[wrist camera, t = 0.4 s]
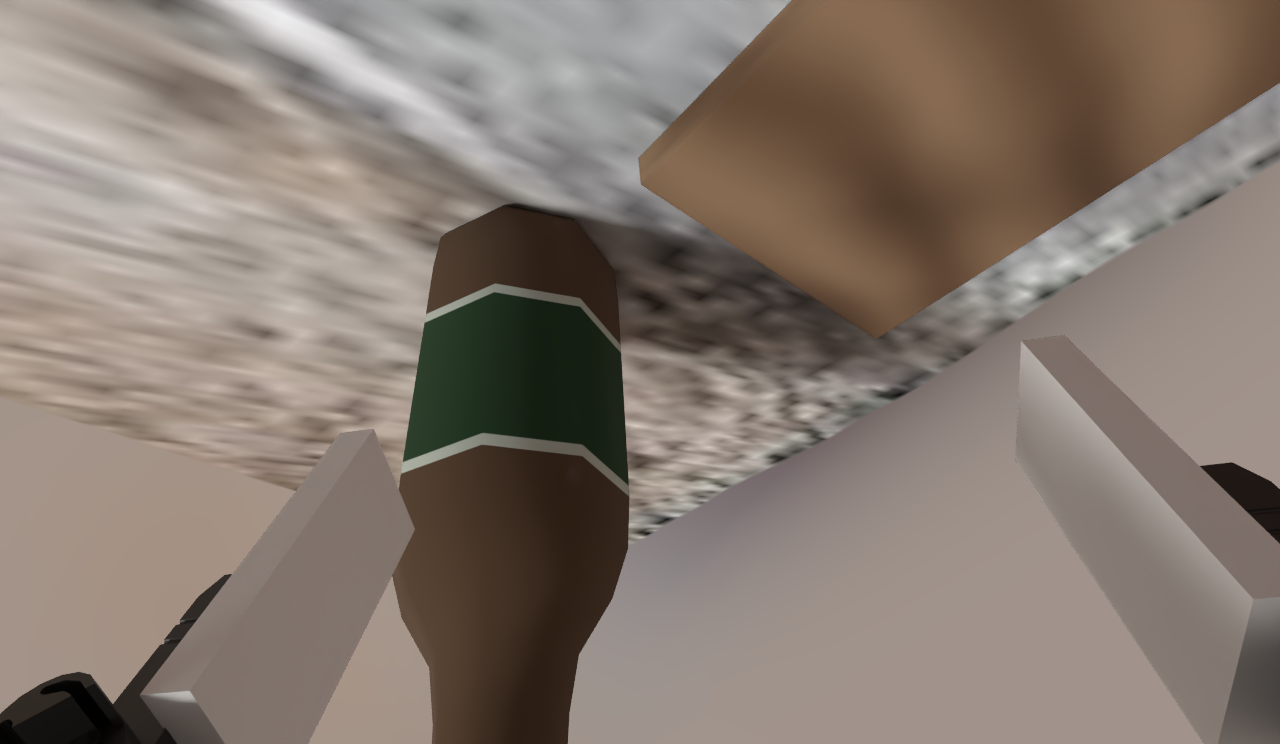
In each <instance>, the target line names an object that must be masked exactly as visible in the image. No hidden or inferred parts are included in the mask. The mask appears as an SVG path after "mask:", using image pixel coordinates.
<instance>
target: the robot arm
mask: <svg viewBox="0 0 1280 744" xmlns="http://www.w3.org/2000/svg"><path fill="white" fill-rule="evenodd" d="M1015 460H1016V462H1017V464H1018V465H1019V467H1020V468H1021V470H1022V471H1023V473H1024V474H1025V476H1026V477H1027V479H1028V480H1029V482H1030V483H1031V485H1032V486H1033V488H1034V489H1035V491H1036V492H1037V494H1038V495H1039V497H1040V498H1041V500H1042V501H1043V503H1044V504H1045V506H1046V507H1047V509H1048V510H1049V512H1050V513H1051V515H1052V516H1053V518H1054V519H1055V521H1056V522H1057V524H1058V525H1059V527H1060V528H1061V530H1062V532H1063V533H1064V535H1065V536H1066V538H1067V539H1068V540H1069V542H1070V543H1071V545H1072V547H1073V548H1074V549H1075V551H1076V552H1077V554H1078V555H1079V557H1080V559H1081V560H1082V562H1083V563H1084V565H1085V566H1086V567H1087V569H1088V570H1089V572H1090V573H1091V575H1092V577H1093V578H1094V580H1095V581H1096V583H1097V584H1098V586H1099V587H1100V589H1101V590H1102V592H1103V593H1104V595H1105V596H1106V597H1107V599H1108V601H1109V602H1110V603H1111V605H1112V607H1113V608H1114V610H1115V611H1116V613H1117V614H1118V616H1119V617H1120V619H1121V620H1122V621H1123V623H1124V625H1125V626H1126V628H1127V629H1128V630H1129V632H1130V634H1131V635H1132V637H1133V638H1134V640H1135V641H1136V643H1137V644H1138V645H1139V647H1140V649H1141V650H1142V652H1143V653H1144V655H1145V656H1146V658H1147V659H1148V661H1149V662H1150V664H1151V665H1152V667H1153V668H1154V670H1155V671H1156V673H1157V674H1158V676H1159V677H1160V679H1161V680H1162V682H1163V683H1164V685H1165V686H1166V688H1167V689H1168V691H1169V692H1170V694H1171V695H1172V697H1173V698H1174V700H1175V701H1176V703H1177V704H1178V706H1179V707H1180V709H1181V710H1182V712H1183V713H1184V715H1185V716H1186V718H1187V719H1188V721H1189V722H1190V724H1191V725H1192V727H1193V728H1194V730H1195V731H1196V733H1197V734H1198V736H1199V737H1200V739H1201V740H1202V742H1203V743H1204V744H1280V489H1279V488H1277V486H1275V485H1274V484H1273V483H1272V482H1271V481H1269V480H1267V479H1265V478H1263V477H1261V476H1259V475H1257V474H1255V473H1253V472H1251V471H1249V470H1247V469H1244V468H1242V467H1240V466H1238V465H1236V464H1234V463H1224V464H1214V465H1206V466H1199V465H1198V464H1197V463H1196V462H1195V461H1194V460H1193V459H1192V458H1191V457H1190V456H1189V455H1188V454H1187V453H1185V452H1184V451H1183V450H1182V449H1181V448H1180V447H1179V446H1178V445H1177V444H1176V443H1175V442H1174V441H1173V440H1172V439H1171V438H1170V437H1169V436H1168V435H1167V434H1166V433H1165V432H1164V431H1163V430H1162V429H1160V427H1159V426H1157V424H1156V423H1154V422H1153V421H1152V420H1151V419H1150V418H1149V417H1148V416H1147V415H1146V414H1145V413H1144V412H1143V411H1142V410H1141V409H1140V408H1139V407H1138V406H1137V405H1136V404H1135V403H1134V402H1133V401H1132V400H1131V399H1130V398H1129V397H1128V396H1127V395H1126V394H1124V393H1123V392H1122V391H1121V390H1120V389H1119V388H1118V387H1117V386H1116V385H1115V384H1114V383H1113V382H1112V381H1111V380H1110V379H1109V378H1108V377H1107V376H1106V375H1105V374H1104V373H1103V372H1102V371H1101V370H1100V369H1099V368H1097V366H1095V364H1094V363H1093V362H1091V361H1090V360H1089V359H1088V358H1087V357H1086V356H1085V355H1084V354H1083V353H1082V352H1081V351H1080V350H1079V349H1078V348H1077V347H1076V346H1075V345H1074V344H1073V343H1072V342H1071V341H1070V340H1069V339H1068V338H1066V337H1065V336H1064V335H1061V336H1053V337H1047V338H1039V339H1031V340H1024V341H1021V353H1020V374H1019V396H1018V416H1017V439H1016V458H1015ZM414 531H415V528H414V525H413V523H412V521H411V518H410V516H409V513H408V511H407V508H406V506H405V504H404V501H403V499H402V496H401V494H400V491H399V489H398V487H397V484H396V482H395V479H394V477H393V475H392V472H391V470H390V467H389V465H388V462H387V460H386V458H385V455H384V453H383V450H382V448H381V445H380V443H379V441H378V438H377V436H376V433H375V431H374V429H367V430H360V431H353V432H345V433H340V434H339V436H338V437H337V438H336V440H335V441H334V442H333V443H332V445H331V446H330V447H329V449H328V450H327V451H326V453H325V454H324V455H323V456H322V458H321V459H320V460H319V462H318V463H317V464H316V466H315V467H314V468H313V470H312V471H311V472H310V473H309V475H308V476H307V477H306V479H305V480H304V481H303V483H302V484H301V485H300V486H299V488H298V489H297V490H296V492H295V493H294V494H293V496H292V497H291V498H290V499H289V501H288V502H287V503H286V505H285V506H284V507H283V509H282V510H281V511H280V513H279V514H278V515H277V516H276V518H275V519H274V520H273V522H272V523H271V524H270V526H269V527H268V528H267V529H266V531H265V532H264V533H263V535H262V536H261V537H260V539H259V540H258V542H257V543H256V544H255V545H254V546H253V548H252V549H251V551H250V552H249V553H248V554H247V556H246V557H245V558H244V559H243V561H242V562H241V563H240V565H239V566H238V567H237V569H236V570H235V571H234V573H233V574H229V575H224V576H223V577H222V578H221V579H219V580H218V581H217V582H216V583H214V584H213V585H212V586H211V587H210V588H208V589H207V590H206V591H205V592H204V593H202V594H201V595H200V596H199V597H198V598H197V599H196V600H195V602H194V603H193V604H192V605H191V607H190V608H189V609H188V610H187V612H186V613H185V614H184V615H183V617H182V618H181V619H180V624H179V625H176V626H175V627H174V628H173V629H172V631H171V632H170V633H169V634H168V636H167V637H166V638H165V639H164V640H165V643H164V644H162V645H160V646H159V647H158V648H157V649H156V651H155V652H154V653H153V654H152V656H151V657H150V658H149V660H148V661H147V662H146V663H145V665H144V666H143V667H142V668H141V670H140V671H139V672H138V673H137V675H136V676H135V677H134V678H133V680H132V681H131V682H130V683H129V685H128V686H127V687H126V689H125V690H124V691H123V693H122V694H121V695H120V696H119V697H118V699H117V700H116V701H115V702H114V704H112V703H111V702H110V700H109V699H108V698H107V696H106V695H105V693H104V692H103V691H102V690H101V688H100V687H99V685H98V684H97V683H96V681H95V680H94V679H93V678H92V676H91V675H90V674H85V673H81V672H76V673H71V674H66V675H61V676H59V677H56V678H54V679H52V680H49V681H47V682H44V683H42V684H40V685H38V686H37V687H35V688H34V689H32V690H30V691H29V692H27V693H25V694H24V695H22V696H21V697H19V698H18V699H17V700H16V701H15V702H13V703H12V704H11V705H10V706H9V707H8V708H6V709H5V710H4V711H3V712H2V713H1V714H0V744H308V743H309V741H310V739H311V737H312V735H313V733H314V731H315V729H316V727H317V725H318V723H319V721H320V719H321V717H322V715H323V713H324V711H325V709H326V707H327V705H328V703H329V701H330V699H331V697H332V695H333V693H334V691H335V689H336V687H337V685H338V683H339V681H340V679H341V677H342V675H343V673H344V671H345V669H346V667H347V665H348V663H349V661H350V659H351V657H352V655H353V653H354V651H355V649H356V647H357V645H358V643H359V641H360V639H361V637H362V635H363V632H364V631H365V629H366V627H367V625H368V623H369V621H370V619H371V617H372V615H373V613H374V611H375V609H376V607H377V605H378V603H379V600H380V599H381V597H382V595H383V593H384V590H385V588H386V587H387V585H388V583H389V581H390V579H391V577H392V575H393V573H394V571H395V569H396V567H397V565H398V563H399V561H400V559H401V557H402V555H403V553H404V551H405V549H406V547H407V545H408V543H409V541H410V539H411V537H412V535H413V533H414Z"/></svg>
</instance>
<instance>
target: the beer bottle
mask: <svg viewBox="0 0 1280 744" xmlns="http://www.w3.org/2000/svg"><path fill="white" fill-rule="evenodd" d="M399 491H400V494H401V496H402V499H403V501H404V504H405V506H406V508H407V511H408V513H409V516H410V518H411V521H412V523H413V525H414V528H415V531H414V533H413V535H412V537H411V539H410V541H409V543H408V545H407V547H406V549H405V551H404V553H403V555H402V557H401V559H400V561H399V563H398V565H397V567H396V569H395V571H394V573H393V575H392V576H393V581H394V585H395V590H396V594H397V599H398V603H399V608H400V612H401V617H402V619H403V621H404V623H405V625H406V626H407V628H408V630H409V632H410V633H411V636H412V637H413V639H414V641H415V643H416V645H417V647H418V648H419V650H420V652H421V654H422V656H423V657H424V659H425V661H426V663H427V665H428V666H429V670H430V686H431V702H432V717H433V734H432V744H568V727H569V711H570V706H571V699H572V693H573V687H574V681H575V675H576V669H577V662H578V656H579V653H580V651H581V650H582V648H583V646H584V645H585V643H586V642H587V640H588V638H589V637H590V635H591V633H592V632H593V630H594V628H595V627H596V625H597V623H598V621H599V620H600V618H601V616H602V615H603V613H604V611H605V610H606V608H607V607H608V605H609V603H610V602H611V600H612V598H613V594H614V591H615V588H616V585H617V582H618V578H619V575H620V572H621V569H622V566H623V562H624V559H625V556H626V553H627V550H628V525H629V483H628V465H627V448H626V431H625V414H624V396H623V379H622V362H621V344H620V327H619V310H618V297H617V290H616V283H615V276H614V270H613V268H612V267H611V266H610V265H609V263H608V262H607V261H606V259H605V258H604V257H603V256H602V254H601V253H600V252H599V250H598V249H597V248H596V247H595V245H594V244H593V243H592V241H591V240H590V239H589V238H588V236H587V235H586V234H585V232H584V231H583V230H582V229H581V227H580V226H579V225H578V223H577V222H576V221H575V220H574V219H570V218H565V217H560V216H555V215H550V214H545V213H540V212H535V211H530V210H525V209H520V208H515V207H510V206H505V205H503V206H501V207H499V208H497V209H495V210H493V211H491V212H489V213H487V214H485V215H483V216H481V217H479V218H477V219H475V220H472V221H470V222H468V223H466V224H464V225H462V226H460V227H458V228H456V229H454V230H452V231H450V232H448V233H446V234H445V235H443V236H442V237H441V239H440V243H439V247H438V251H437V255H436V259H435V263H434V267H433V273H432V280H431V286H430V292H429V299H428V305H427V311H426V318H425V324H424V330H423V337H422V343H421V349H420V356H419V362H418V369H417V375H416V381H415V388H414V394H413V400H412V407H411V413H410V419H409V426H408V432H407V439H406V445H405V451H404V458H403V464H402V470H401V477H400V485H399Z"/></svg>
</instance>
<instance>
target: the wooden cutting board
mask: <svg viewBox="0 0 1280 744" xmlns="http://www.w3.org/2000/svg"><path fill="white" fill-rule="evenodd" d="M1278 83H1280V0H792V1H791V2H790V3H789V4H788V5H787V6H786V7H785V8H784V9H783V10H782V11H781V12H780V13H779V14H778V15H777V16H776V17H775V18H774V19H773V21H772V22H771V23H770V24H769V25H768V26H767V27H766V28H765V29H764V30H763V31H762V32H761V33H760V34H759V35H758V36H757V37H756V38H755V39H754V40H753V41H752V42H751V43H750V44H749V45H748V46H747V47H746V48H745V49H744V50H743V51H742V52H741V53H740V55H739V56H738V57H737V58H736V59H735V60H734V61H733V62H732V63H731V64H730V65H729V66H728V67H727V68H726V69H725V70H724V71H723V72H722V73H721V74H720V75H719V76H718V77H717V78H716V79H715V80H714V81H713V82H712V83H711V84H710V85H709V86H708V87H707V88H706V90H705V91H704V92H703V93H702V94H701V95H700V96H699V97H698V98H697V99H696V100H695V101H694V102H693V103H692V104H691V105H690V106H689V107H688V108H687V109H686V110H685V111H684V112H683V113H682V114H681V115H680V116H679V117H678V118H677V119H676V120H675V121H674V122H673V123H672V125H671V126H670V127H669V128H668V129H667V130H666V131H665V132H664V133H663V134H662V135H661V136H660V137H659V138H658V139H657V140H656V141H655V142H654V143H653V144H652V145H651V146H650V147H649V148H648V149H647V150H646V151H645V152H644V153H643V154H642V155H641V156H640V157H639V158H638V159H639V169H640V179H641V185H642V186H644V187H646V188H647V189H649V190H650V191H652V192H653V193H655V194H656V195H658V196H659V197H661V198H662V199H664V200H665V201H667V202H668V203H670V204H671V205H673V206H674V207H676V208H677V209H679V210H681V211H682V212H684V213H685V214H687V215H688V216H690V217H691V218H693V219H694V220H696V221H697V222H699V223H700V224H702V225H703V226H705V227H706V228H708V229H709V230H711V231H713V232H714V233H716V234H717V235H719V236H720V237H722V238H723V239H725V240H726V241H728V242H729V243H731V244H732V245H734V246H735V247H737V248H738V249H740V250H741V251H743V252H744V253H746V254H748V255H749V256H751V257H752V258H754V259H755V260H757V261H758V262H760V263H761V264H763V265H764V266H766V267H767V268H769V269H770V270H772V271H773V272H775V273H776V274H778V275H779V276H781V277H783V278H784V279H786V280H787V281H789V282H790V283H792V284H793V285H795V286H796V287H798V288H799V289H801V290H802V291H804V292H805V293H807V294H808V295H810V296H811V297H813V298H814V299H816V300H818V301H819V302H821V303H822V304H824V305H825V306H827V307H828V308H830V309H831V310H833V311H834V312H836V313H837V314H839V315H840V316H842V317H843V318H845V319H846V320H848V321H849V322H851V323H853V324H854V325H856V326H857V327H859V328H860V329H862V330H863V331H865V332H866V333H868V334H869V335H871V336H872V337H874V338H875V339H877V338H879V337H880V336H882V335H884V334H885V333H887V332H888V331H890V330H891V329H893V328H895V327H896V326H898V325H899V324H901V323H902V322H904V321H906V320H907V319H909V318H910V317H912V316H913V315H915V314H917V313H918V312H920V311H921V310H923V309H924V308H926V307H928V306H929V305H931V304H932V303H934V302H935V301H937V300H939V299H940V298H942V297H943V296H945V295H947V294H948V293H950V292H951V291H953V290H954V289H956V288H958V287H959V286H961V285H962V284H964V283H965V282H967V281H969V280H970V279H972V278H973V277H975V276H976V275H978V274H980V273H981V272H983V271H984V270H986V269H987V268H989V267H991V266H992V265H994V264H995V263H997V262H998V261H1000V260H1002V259H1003V258H1005V257H1006V256H1008V255H1009V254H1011V253H1013V252H1014V251H1016V250H1017V249H1019V248H1020V247H1022V246H1024V245H1025V244H1027V243H1028V242H1030V241H1031V240H1033V239H1035V238H1036V237H1038V236H1039V235H1041V234H1042V233H1044V232H1046V231H1047V230H1049V229H1050V228H1052V227H1053V226H1055V225H1057V224H1058V223H1060V222H1061V221H1063V220H1064V219H1066V218H1068V217H1069V216H1071V215H1072V214H1074V213H1075V212H1077V211H1079V210H1080V209H1082V208H1083V207H1085V206H1086V205H1088V204H1090V203H1091V202H1093V201H1094V200H1096V199H1097V198H1099V197H1101V196H1102V195H1104V194H1105V193H1107V192H1108V191H1110V190H1112V189H1113V188H1115V187H1116V186H1118V185H1119V184H1121V183H1123V182H1124V181H1126V180H1127V179H1129V178H1131V177H1132V176H1134V175H1135V174H1137V173H1138V172H1140V171H1142V170H1143V169H1145V168H1146V167H1148V166H1149V165H1151V164H1153V163H1154V162H1156V161H1157V160H1159V159H1160V158H1162V157H1164V156H1165V155H1167V154H1168V153H1170V152H1171V151H1173V150H1175V149H1176V148H1178V147H1179V146H1181V145H1182V144H1184V143H1186V142H1187V141H1189V140H1190V139H1192V138H1193V137H1195V136H1197V135H1198V134H1200V133H1201V132H1203V131H1204V130H1206V129H1208V128H1209V127H1211V126H1212V125H1214V124H1215V123H1217V122H1219V121H1220V120H1222V119H1223V118H1225V117H1226V116H1228V115H1230V114H1231V113H1233V112H1234V111H1236V110H1237V109H1239V108H1241V107H1242V106H1244V105H1245V104H1247V103H1248V102H1250V101H1252V100H1253V99H1255V98H1256V97H1258V96H1259V95H1261V94H1263V93H1264V92H1266V91H1267V90H1269V89H1270V88H1272V87H1274V86H1275V85H1277V84H1278Z"/></svg>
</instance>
